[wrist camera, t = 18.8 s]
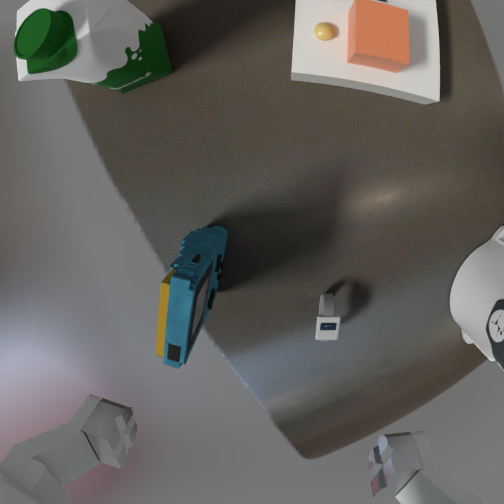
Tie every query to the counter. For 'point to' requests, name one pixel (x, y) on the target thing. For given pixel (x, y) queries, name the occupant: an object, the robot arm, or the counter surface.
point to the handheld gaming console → (189, 293)
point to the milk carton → (90, 43)
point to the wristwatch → (327, 319)
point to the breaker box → (357, 76)
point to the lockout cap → (378, 36)
